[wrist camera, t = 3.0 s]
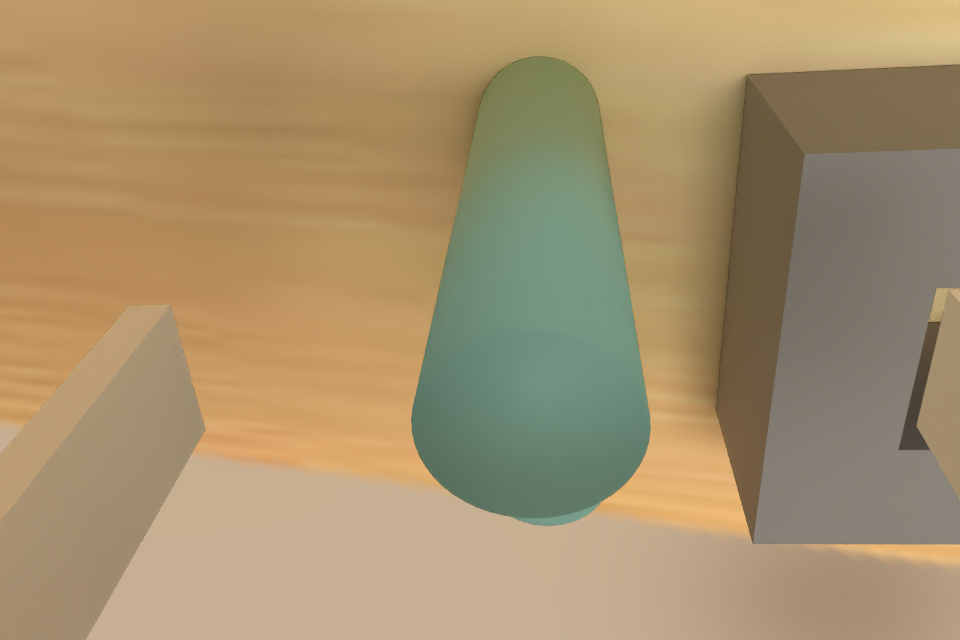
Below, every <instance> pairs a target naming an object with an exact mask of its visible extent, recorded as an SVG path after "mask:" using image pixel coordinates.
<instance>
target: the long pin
mask: <svg viewBox="0 0 960 640" xmlns="http://www.w3.org/2000/svg"><path fill="white" fill-rule="evenodd" d="M411 421H412V434H413V438H414V443H415V446H416V448H417V451H418V454H419V456H420V458H421V460H422V461H423V463H424V465H425V467H426V468H427V469H428V470H429V472H430V473H431V474H432V476H433V477H434V478H435V479H436V480H437V481H438V482H439V483H440V484H441V485H442V486H443V487H445V488H446V489H447V490H448V491H450V492H451V493H452V494H453V495H455V496H457V497H458V498H460V499H462V500H463V501H465V502H467V503H469V504H471V505H473V506H475V507H477V508H480V509H483V510H486V511H489V512H492V513H496V514H500V515H504V516H510V517H517V518H533V519H534V518H550V517H557V516H563V515H567V514H571V513H575V512H578V511H581V510H584V509H587V508H589V507H591V506H593V505H595V504H597V503H599V502H602V501H603V500H605V499H606V498H608V497H609V496H611V495H612V494H614V493H615V492H616V491H617V490H619V489H620V488H621V487H622V486H623V485H624V484H625V483H626V482H627V481H628V480H629V479H630V478H631V477H632V476H633V474H634V473H635V471H636V470H637V468H638V467H639V465H640V464H641V462H642V459H643V457H644V455H645V453H646V450H647V446H648V443H649V437H650V414H649V408H648V402H647V396H646V390H645V384H644V377H643V371H642V365H641V359H640V353H639V347H638V341H637V335H636V329H635V323H634V317H633V311H632V305H631V299H630V292H629V286H628V280H627V274H626V268H625V262H624V256H623V250H622V244H621V238H620V232H619V226H618V220H617V214H616V207H615V201H614V195H613V189H612V183H611V177H610V171H609V165H608V159H607V153H606V147H605V141H604V135H603V129H602V122H601V116H600V110H599V105H598V100H597V97H596V94H595V91H594V89H593V88H592V86H591V84H590V83H589V81H588V80H587V78H586V77H585V76H584V75H583V74H582V73H581V72H580V71H579V70H577V69H576V68H575V67H573V66H571V65H570V64H568V63H566V62H564V61H561V60H558V59H555V58H550V57H530V58H525V59H521V60H519V61H516V62H514V63H512V64H510V65H508V66H506V67H505V68H504V69H502V70H501V71H500V72H499V73H498V74H497V75H496V76H495V77H494V78H493V79H492V80H491V82H490V83H489V84H488V86H487V88H486V90H485V92H484V94H483V96H482V100H481V103H480V107H479V112H478V116H477V121H476V125H475V130H474V134H473V139H472V143H471V148H470V152H469V157H468V161H467V166H466V170H465V175H464V179H463V184H462V188H461V193H460V197H459V202H458V206H457V211H456V215H455V220H454V224H453V229H452V233H451V238H450V242H449V247H448V251H447V256H446V260H445V265H444V269H443V274H442V278H441V283H440V287H439V292H438V296H437V301H436V305H435V310H434V314H433V319H432V323H431V328H430V332H429V337H428V341H427V346H426V350H425V355H424V359H423V364H422V368H421V373H420V377H419V382H418V386H417V391H416V395H415V400H414V404H413V410H412V419H411Z"/></svg>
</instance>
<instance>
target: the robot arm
mask: <svg viewBox="0 0 960 640" xmlns="http://www.w3.org/2000/svg"><path fill="white" fill-rule="evenodd" d="M917 428H918V429H919V431H920V433H921V434H922V436H923V438H924V440H925V441H926V443H927V445H928V446H929V448H930V450H931V452H932V453H933V455H934V457H935V458H936V460H937V462H938V464H939V465H940V467H941V469H942V470H943V472H944V474H945V475H946V477H947V479H948V481H949V482H950V484H951V486H952V487H953V489H954V491H955V493H956V494H957V496H958V498H959V499H960V289H949V290H948V294H947V299H946V303H945V307H944V311H943V316H942V320H941V324H940V328H939V333H938V337H937V341H936V345H935V349H934V354H933V358H932V362H931V366H930V371H929V375H928V379H927V383H926V388H925V392H924V396H923V400H922V405H921V409H920V413H919V417H918V421H917ZM204 431H205V426H204V422H203V419H202V415H201V412H200V408H199V404H198V401H197V397H196V394H195V390H194V387H193V383H192V380H191V376H190V372H189V369H188V365H187V362H186V358H185V355H184V351H183V348H182V344H181V340H180V337H179V333H178V330H177V326H176V323H175V319H174V315H173V312H172V308H171V305H131V306H128V307H127V309H126V310H125V311H124V312H123V313H122V314H121V316H120V317H119V318H118V319H117V320H116V321H115V322H114V324H113V325H112V326H111V327H110V328H109V329H108V331H107V332H106V333H105V334H104V335H103V336H102V337H101V339H100V340H99V341H98V342H97V343H96V344H95V346H94V347H93V348H92V349H91V350H90V351H89V352H88V354H87V355H86V356H85V357H84V358H83V359H82V361H81V362H80V363H79V364H78V365H77V366H76V367H75V369H74V370H73V371H72V372H71V373H70V374H69V376H68V377H67V378H66V379H65V380H64V381H63V382H62V384H61V385H60V386H59V387H58V388H57V389H56V391H55V392H54V393H53V394H52V395H51V396H50V397H49V399H48V400H47V401H46V402H45V403H44V404H43V406H42V407H41V408H40V409H39V410H38V411H37V412H36V414H35V415H34V416H33V417H32V418H31V419H30V421H29V422H28V423H27V424H26V425H25V426H24V427H23V429H22V430H21V431H20V432H19V433H18V434H17V436H16V437H15V438H14V439H13V440H12V441H11V443H10V444H9V445H8V446H7V447H6V448H5V449H4V451H3V452H2V453H1V454H0V640H86V638H87V636H88V635H89V633H90V631H91V629H92V628H93V626H94V624H95V622H96V621H97V619H98V617H99V615H100V614H101V612H102V610H103V608H104V607H105V605H106V603H107V601H108V600H109V598H110V596H111V594H112V593H113V591H114V589H115V587H116V586H117V584H118V582H119V580H120V578H121V577H122V575H123V573H124V571H125V570H126V568H127V566H128V564H129V563H130V561H131V559H132V557H133V556H134V554H135V552H136V550H137V549H138V547H139V545H140V543H141V542H142V540H143V538H144V536H145V534H146V533H147V531H148V529H149V528H150V526H151V524H152V522H153V520H154V519H155V517H156V515H157V513H158V512H159V510H160V508H161V506H162V505H163V503H164V501H165V499H166V498H167V496H168V494H169V492H170V491H171V489H172V487H173V485H174V484H175V482H176V480H177V478H178V477H179V475H180V473H181V471H182V469H183V468H184V466H185V464H186V463H187V461H188V459H189V457H190V455H191V454H192V452H193V450H194V449H195V447H196V445H197V443H198V441H199V440H200V438H201V436H202V434H203V433H204Z"/></svg>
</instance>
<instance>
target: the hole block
mask: <svg viewBox="0 0 960 640" xmlns="http://www.w3.org/2000/svg"><path fill="white" fill-rule="evenodd" d="M954 287H960V65H945V66H924V67H902V68H880V69H859V70H837V71H816V72H794V73H773V74H751V75H747V82H746V92H745V103H744V114H743V125H742V135H741V146H740V157H739V168H738V179H737V189H736V200H735V211H734V222H733V232H732V243H731V254H730V265H729V275H728V286H727V297H726V308H725V319H724V329H723V340H722V351H721V362H720V372H719V383H718V394H717V405H716V412H717V416H718V419H719V423H720V427H721V430H722V434H723V437H724V441H725V445H726V448H727V452H728V456H729V459H730V463H731V467H732V470H733V474H734V477H735V481H736V485H737V488H738V492H739V496H740V499H741V503H742V506H743V510H744V514H745V517H746V521H747V525H748V528H749V532H750V536H751V539H752V543H753V544H960V499H959V498H958V496H957V494H956V493H955V491H954V489H953V487H952V486H951V484H950V482H949V481H948V479H947V477H946V475H945V474H944V472H943V470H942V469H941V467H940V465H939V464H938V462H937V460H936V458H935V457H934V455H933V453H932V452H931V450H930V448H929V446H928V445H927V443H926V441H925V440H924V438H923V436H922V434H921V433H920V431H919V429H918V428H917V421H918V417H919V413H920V409H921V405H922V400H923V396H924V392H925V388H926V383H927V379H928V375H929V371H930V366H931V362H932V358H933V354H934V349H935V345H936V341H937V337H938V333H939V328H940V324H941V323H928V322H929V317H930V313H931V309H932V305H933V300H934V296H935V292H936V288H954Z"/></svg>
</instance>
